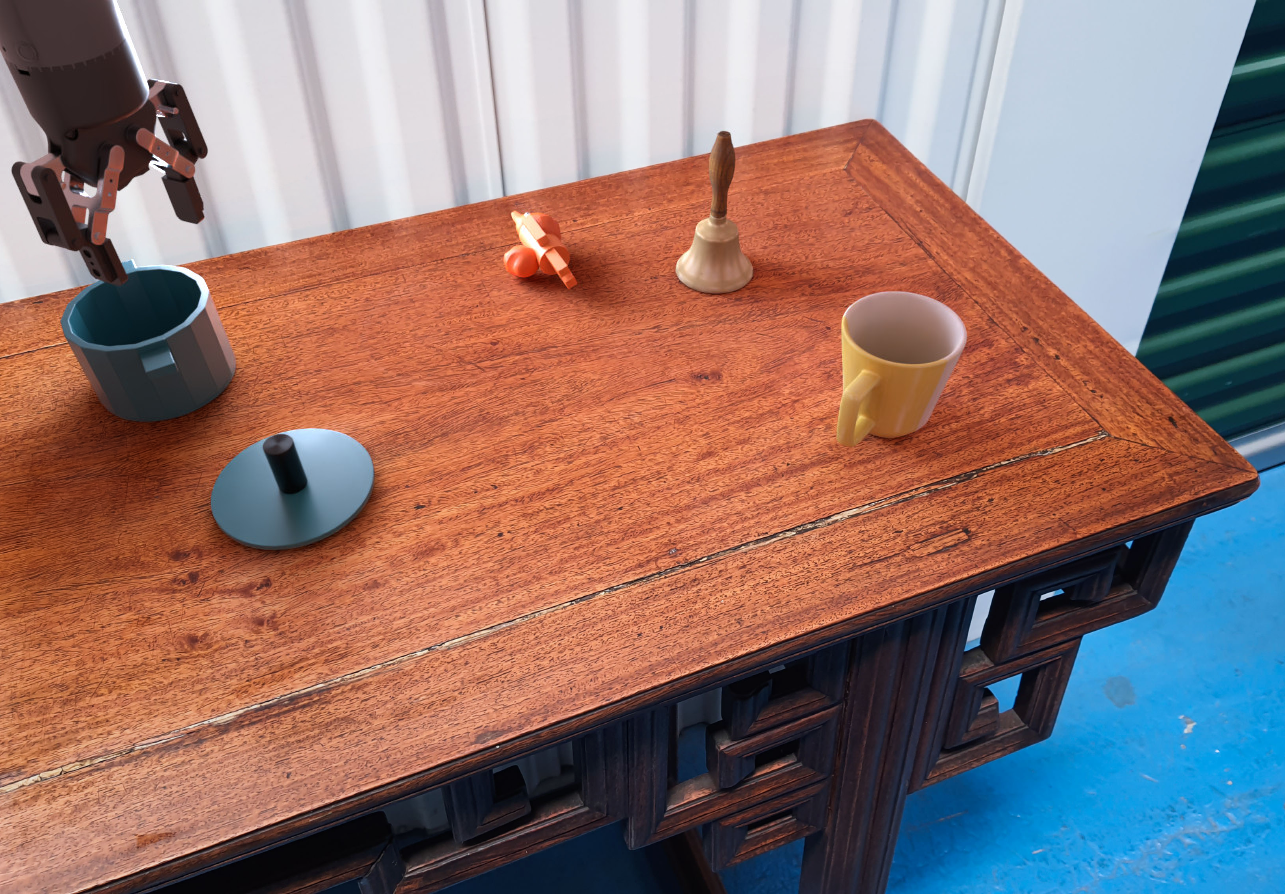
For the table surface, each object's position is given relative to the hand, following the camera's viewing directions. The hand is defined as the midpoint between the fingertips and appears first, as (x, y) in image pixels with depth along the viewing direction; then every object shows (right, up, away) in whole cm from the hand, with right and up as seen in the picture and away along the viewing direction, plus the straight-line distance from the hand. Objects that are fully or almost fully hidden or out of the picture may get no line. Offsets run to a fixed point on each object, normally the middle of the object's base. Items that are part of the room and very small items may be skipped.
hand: (154, 249), depth 75 cm
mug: (+58, -13, +15) cm, 61 cm away
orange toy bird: (+26, +4, +32) cm, 41 cm away
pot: (-8, -8, +20) cm, 23 cm away
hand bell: (+45, +4, +31) cm, 55 cm away
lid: (+7, -18, +9) cm, 22 cm away
